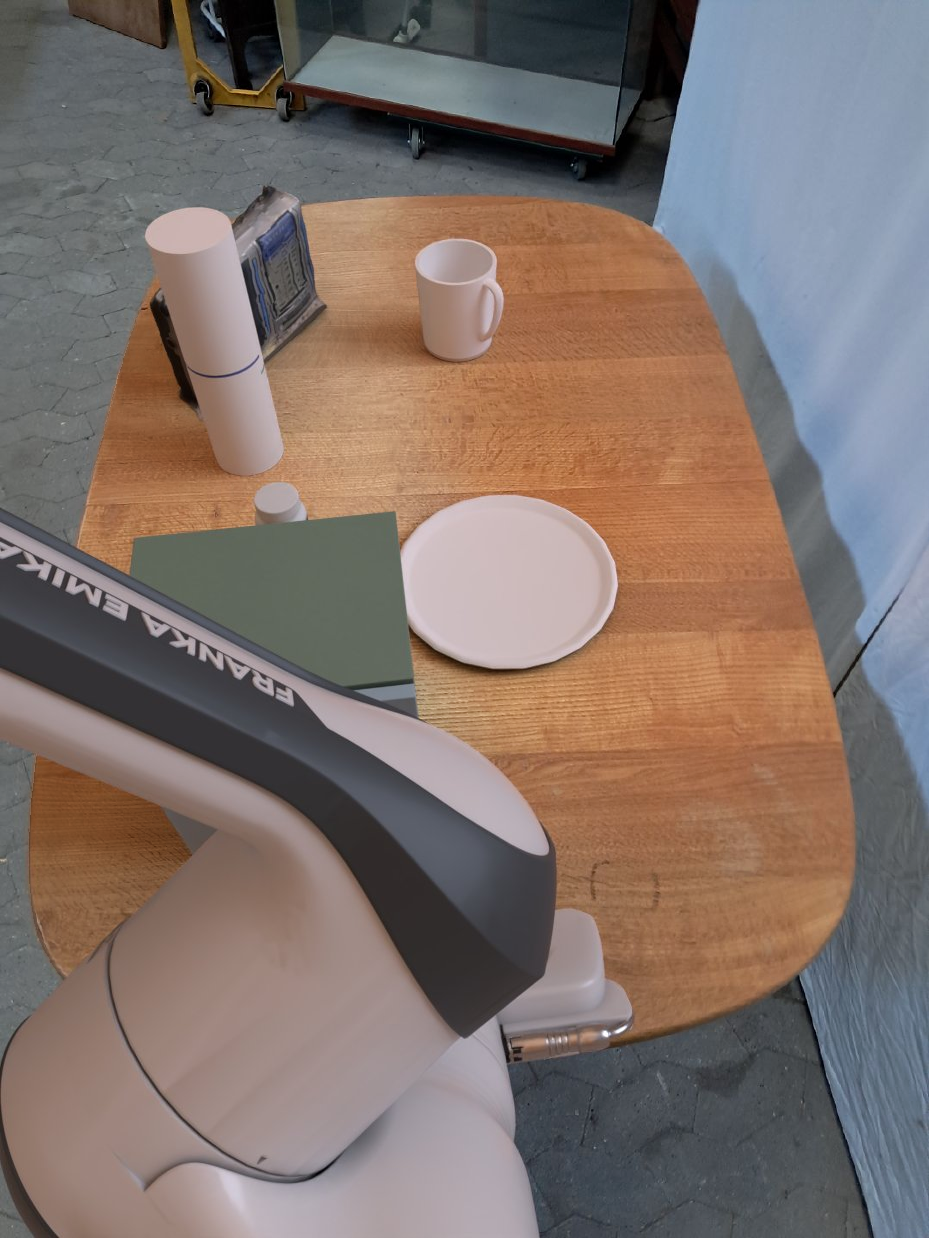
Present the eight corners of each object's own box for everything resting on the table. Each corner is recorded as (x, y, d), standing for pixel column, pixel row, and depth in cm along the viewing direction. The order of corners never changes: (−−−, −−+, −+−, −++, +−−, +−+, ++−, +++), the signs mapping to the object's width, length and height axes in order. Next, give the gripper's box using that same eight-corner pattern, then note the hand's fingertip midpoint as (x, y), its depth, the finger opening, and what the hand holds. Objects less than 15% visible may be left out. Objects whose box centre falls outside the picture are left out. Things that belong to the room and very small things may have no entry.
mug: (404, 344, 107) (397, 264, 98) (454, 309, 111) (451, 229, 102) (475, 383, 102) (475, 302, 94) (525, 345, 106) (528, 264, 98)
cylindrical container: (203, 465, 95) (127, 243, 75) (238, 422, 99) (176, 201, 79) (262, 483, 93) (201, 261, 73) (296, 439, 97) (247, 216, 77)
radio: (199, 421, 99) (161, 301, 87) (147, 390, 102) (102, 271, 90) (341, 317, 110) (324, 197, 98) (289, 292, 113) (267, 174, 101)
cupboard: (429, 817, 71) (413, 678, 55) (196, 845, 70) (111, 712, 54) (413, 669, 79) (395, 510, 63) (205, 692, 78) (133, 537, 62)
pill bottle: (304, 582, 85) (289, 521, 78) (258, 571, 86) (239, 510, 79) (323, 546, 88) (310, 484, 81) (279, 535, 89) (262, 473, 82)
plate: (347, 600, 84) (345, 592, 83) (481, 472, 94) (481, 463, 93) (533, 717, 76) (533, 709, 75) (658, 564, 86) (660, 555, 85)
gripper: (641, 968, 38) (575, 841, 51) (142, 1034, 36) (211, 886, 50) (651, 1105, 39) (584, 945, 52) (165, 1175, 37) (226, 991, 51)
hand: (398, 916), depth 51 cm, fingers open, 8 cm apart
